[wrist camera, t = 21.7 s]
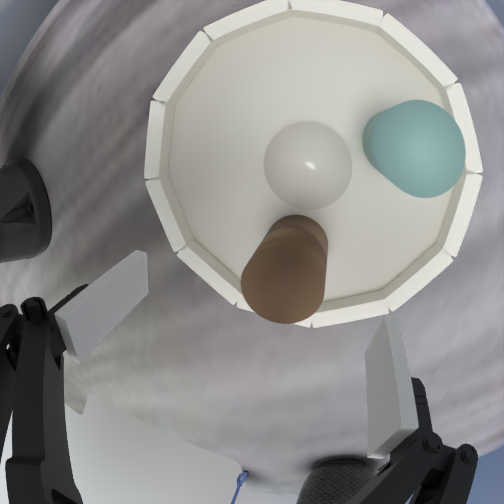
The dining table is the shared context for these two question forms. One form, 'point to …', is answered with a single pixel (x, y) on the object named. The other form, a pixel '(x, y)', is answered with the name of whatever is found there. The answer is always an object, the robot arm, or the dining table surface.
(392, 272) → the round cream tray
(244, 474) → the baby rattle
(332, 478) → the planter
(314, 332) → the dining table surface
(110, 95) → the dining table surface
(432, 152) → the teal cylinder
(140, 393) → the dining table surface
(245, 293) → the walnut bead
